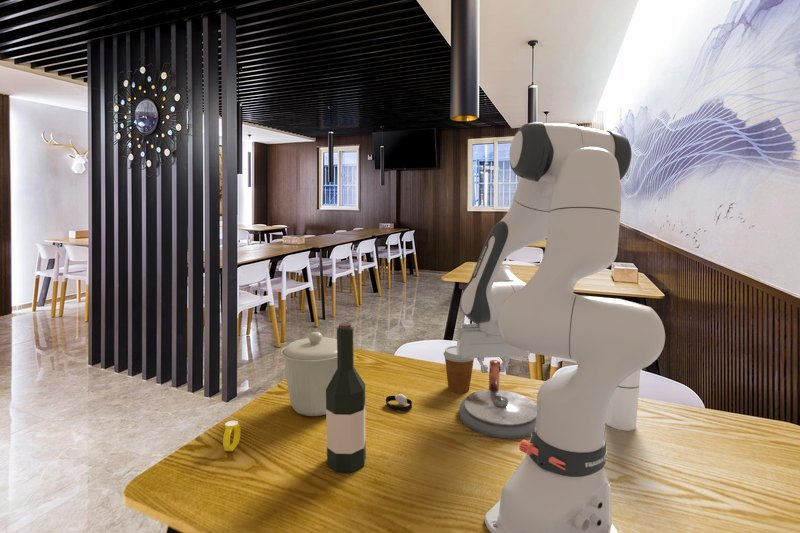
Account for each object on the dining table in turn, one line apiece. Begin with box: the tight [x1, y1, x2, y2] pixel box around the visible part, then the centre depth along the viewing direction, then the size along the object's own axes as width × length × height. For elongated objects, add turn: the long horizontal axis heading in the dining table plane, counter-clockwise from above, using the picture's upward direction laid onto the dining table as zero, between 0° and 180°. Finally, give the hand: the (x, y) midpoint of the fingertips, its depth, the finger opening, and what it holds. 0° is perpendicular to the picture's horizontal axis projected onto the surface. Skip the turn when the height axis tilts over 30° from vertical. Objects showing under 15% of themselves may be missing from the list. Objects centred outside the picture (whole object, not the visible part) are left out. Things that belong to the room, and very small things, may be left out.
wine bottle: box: [325, 322, 367, 474], centre depth 89 cm, size 8×8×30 cm
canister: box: [280, 331, 337, 417], centre depth 114 cm, size 18×18×21 cm
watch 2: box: [385, 393, 413, 412], centre depth 116 cm, size 8×5×4 cm, turn 63°
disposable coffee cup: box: [443, 345, 475, 394], centre depth 128 cm, size 10×10×12 cm
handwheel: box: [464, 359, 537, 427], centre depth 110 cm, size 19×18×10 cm
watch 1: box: [222, 420, 242, 452], centre depth 96 cm, size 6×3×6 cm, turn 177°
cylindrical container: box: [605, 369, 642, 431], centre depth 106 cm, size 7×7×25 cm
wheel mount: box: [459, 398, 536, 440], centre depth 110 cm, size 21×21×2 cm
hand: (492, 371), depth 118 cm, fingers open, 4 cm apart
